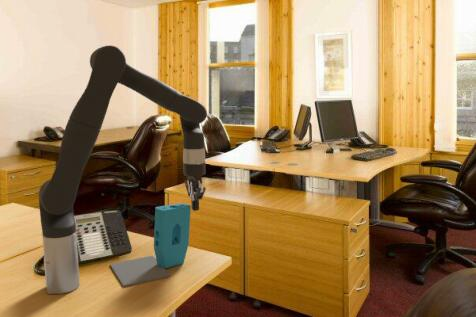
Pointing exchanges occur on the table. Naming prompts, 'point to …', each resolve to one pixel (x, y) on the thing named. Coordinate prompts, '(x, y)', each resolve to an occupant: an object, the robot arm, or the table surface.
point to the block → (171, 234)
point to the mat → (138, 271)
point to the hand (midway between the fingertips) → (195, 210)
